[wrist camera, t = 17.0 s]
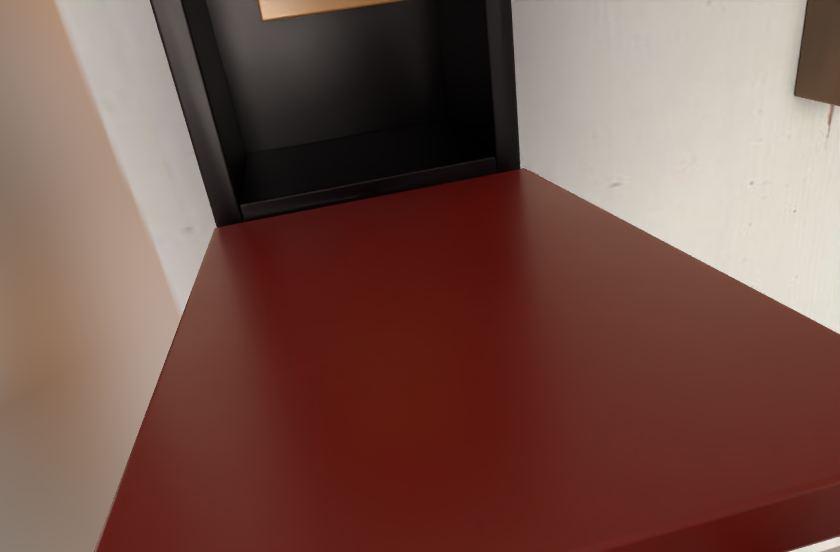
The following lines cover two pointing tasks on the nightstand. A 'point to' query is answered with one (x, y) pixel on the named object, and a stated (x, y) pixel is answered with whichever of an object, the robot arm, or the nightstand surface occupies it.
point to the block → (309, 7)
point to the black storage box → (341, 100)
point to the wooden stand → (820, 53)
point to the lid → (480, 390)
